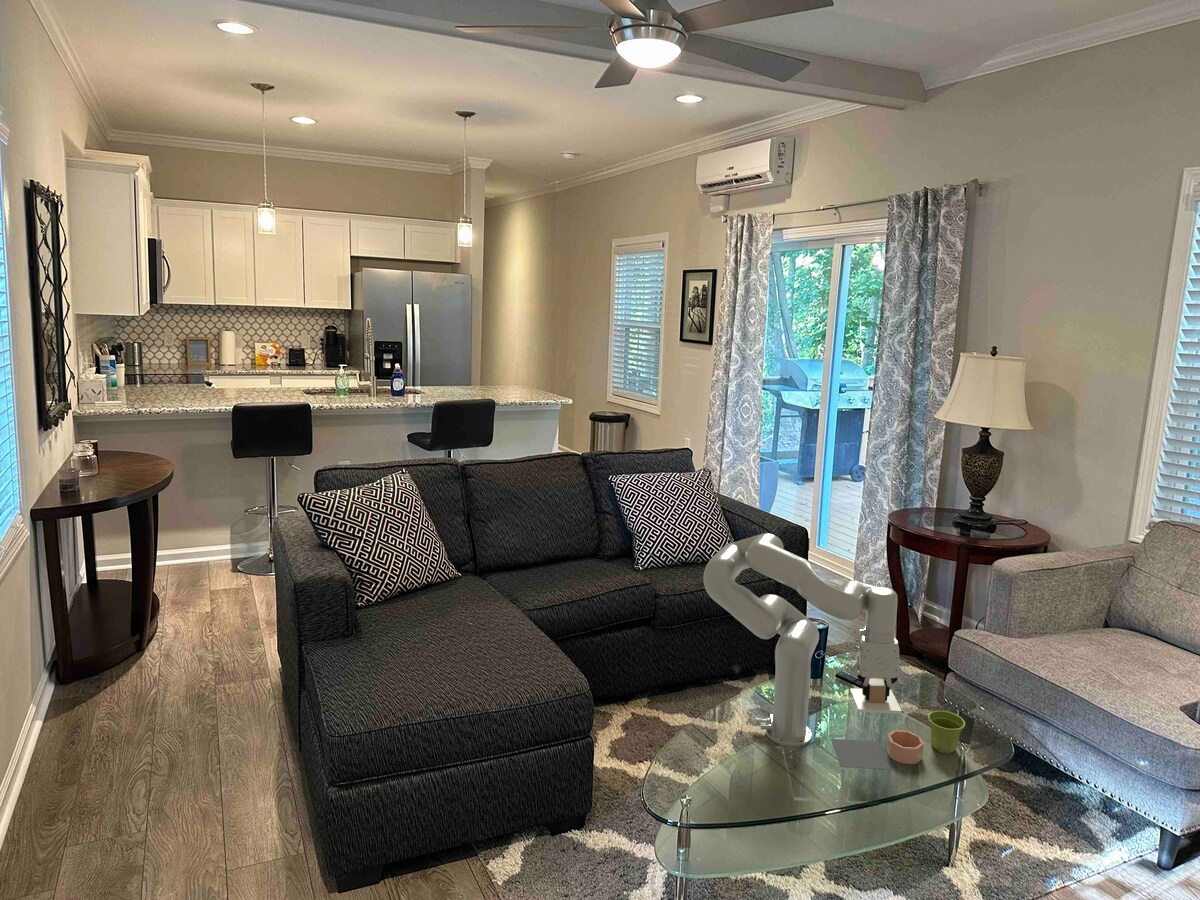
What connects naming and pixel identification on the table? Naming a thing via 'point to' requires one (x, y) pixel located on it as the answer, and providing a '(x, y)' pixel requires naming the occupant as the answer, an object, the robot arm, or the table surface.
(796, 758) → the table surface
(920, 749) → the bowl
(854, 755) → the mat
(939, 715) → the plant pot
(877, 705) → the lid
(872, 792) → the table surface
